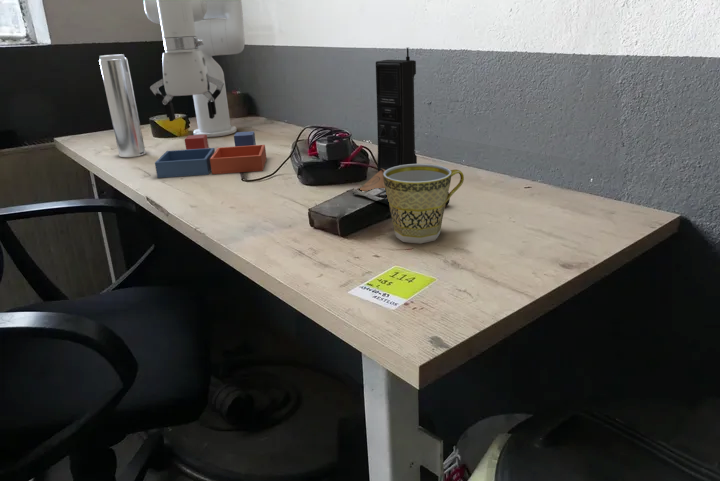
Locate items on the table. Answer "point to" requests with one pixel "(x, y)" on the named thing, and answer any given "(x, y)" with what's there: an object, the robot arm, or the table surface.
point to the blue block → (244, 138)
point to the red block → (196, 142)
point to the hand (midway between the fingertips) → (192, 119)
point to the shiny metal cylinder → (122, 105)
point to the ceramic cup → (418, 199)
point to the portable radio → (395, 112)
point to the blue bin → (184, 163)
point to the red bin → (238, 159)
